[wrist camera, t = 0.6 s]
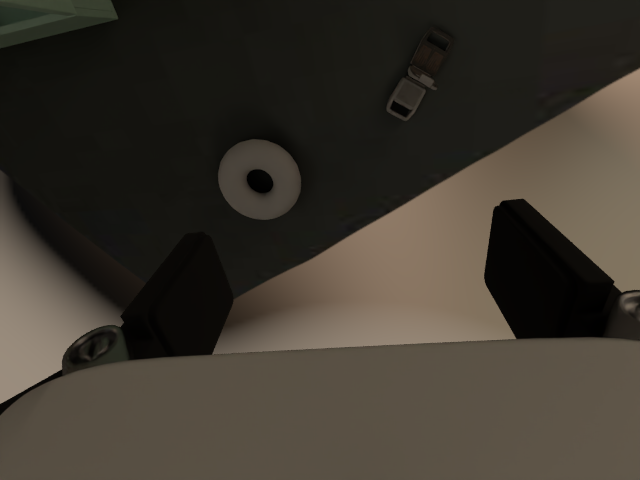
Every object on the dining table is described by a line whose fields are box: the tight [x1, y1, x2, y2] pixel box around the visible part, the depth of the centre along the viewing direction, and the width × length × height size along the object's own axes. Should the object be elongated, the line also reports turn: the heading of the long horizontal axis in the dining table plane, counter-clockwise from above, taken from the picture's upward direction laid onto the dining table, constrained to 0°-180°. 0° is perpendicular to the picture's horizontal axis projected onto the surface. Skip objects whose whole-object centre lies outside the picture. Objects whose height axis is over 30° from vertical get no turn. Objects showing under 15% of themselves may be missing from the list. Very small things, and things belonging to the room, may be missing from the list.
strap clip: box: [386, 27, 454, 121], centre depth 32 cm, size 8×3×4 cm, turn 155°
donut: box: [218, 139, 301, 220], centre depth 39 cm, size 10×4×10 cm
